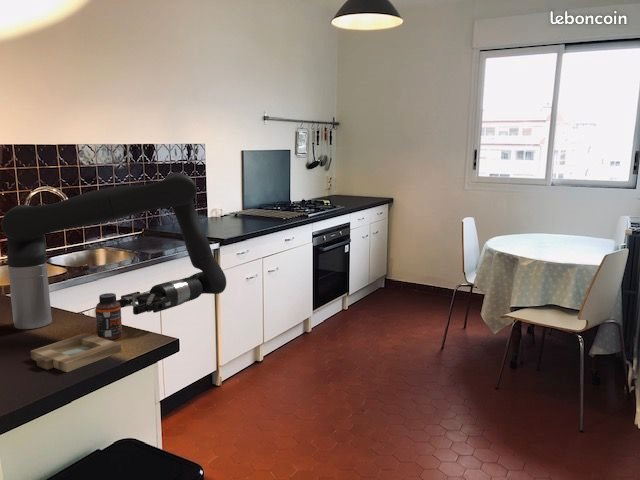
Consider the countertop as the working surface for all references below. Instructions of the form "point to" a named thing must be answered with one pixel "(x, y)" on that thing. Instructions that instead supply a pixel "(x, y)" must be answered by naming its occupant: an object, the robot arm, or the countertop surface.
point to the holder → (74, 352)
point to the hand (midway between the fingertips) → (123, 308)
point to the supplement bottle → (108, 317)
